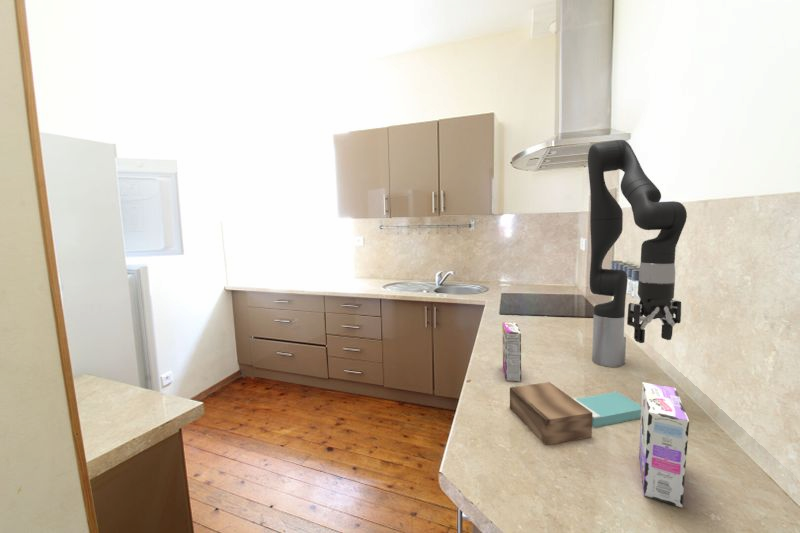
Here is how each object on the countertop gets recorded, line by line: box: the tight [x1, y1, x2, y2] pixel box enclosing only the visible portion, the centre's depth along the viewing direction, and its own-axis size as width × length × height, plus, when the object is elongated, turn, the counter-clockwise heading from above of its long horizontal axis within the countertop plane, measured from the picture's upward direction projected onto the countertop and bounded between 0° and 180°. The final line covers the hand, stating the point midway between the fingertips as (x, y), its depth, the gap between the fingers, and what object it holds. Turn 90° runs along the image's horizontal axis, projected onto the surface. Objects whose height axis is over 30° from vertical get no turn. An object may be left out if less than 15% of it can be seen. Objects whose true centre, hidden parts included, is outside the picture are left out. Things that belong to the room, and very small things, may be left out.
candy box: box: [638, 381, 690, 508], centre depth 65 cm, size 14×6×16 cm, turn 148°
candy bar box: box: [501, 321, 522, 383], centre depth 112 cm, size 11×5×16 cm, turn 168°
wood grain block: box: [509, 381, 593, 445], centre depth 85 cm, size 12×16×6 cm
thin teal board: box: [573, 391, 641, 428], centre depth 89 cm, size 16×9×3 cm, turn 103°
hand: (652, 340), depth 89 cm, fingers open, 8 cm apart
